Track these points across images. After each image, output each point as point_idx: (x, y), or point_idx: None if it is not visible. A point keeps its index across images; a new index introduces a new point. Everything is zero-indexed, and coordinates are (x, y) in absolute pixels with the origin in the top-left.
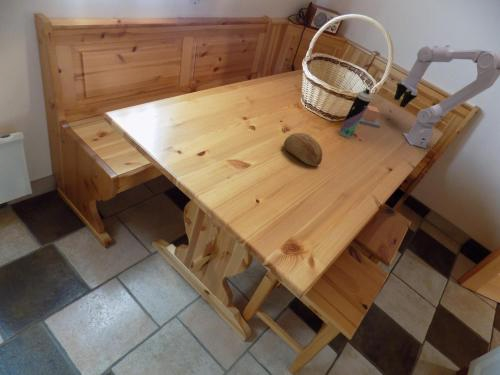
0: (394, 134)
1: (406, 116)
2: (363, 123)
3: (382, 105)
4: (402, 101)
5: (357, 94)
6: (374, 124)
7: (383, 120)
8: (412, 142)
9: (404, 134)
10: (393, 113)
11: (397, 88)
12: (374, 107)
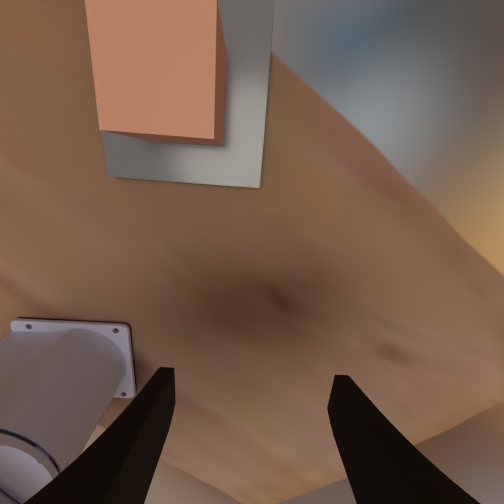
0: (89, 264)
1: None
2: None
3: (463, 334)
4: (121, 415)
5: None
6: None
7: (251, 258)
8: (19, 333)
9: (108, 325)
10: (373, 364)
11: (443, 500)
12: (196, 107)
